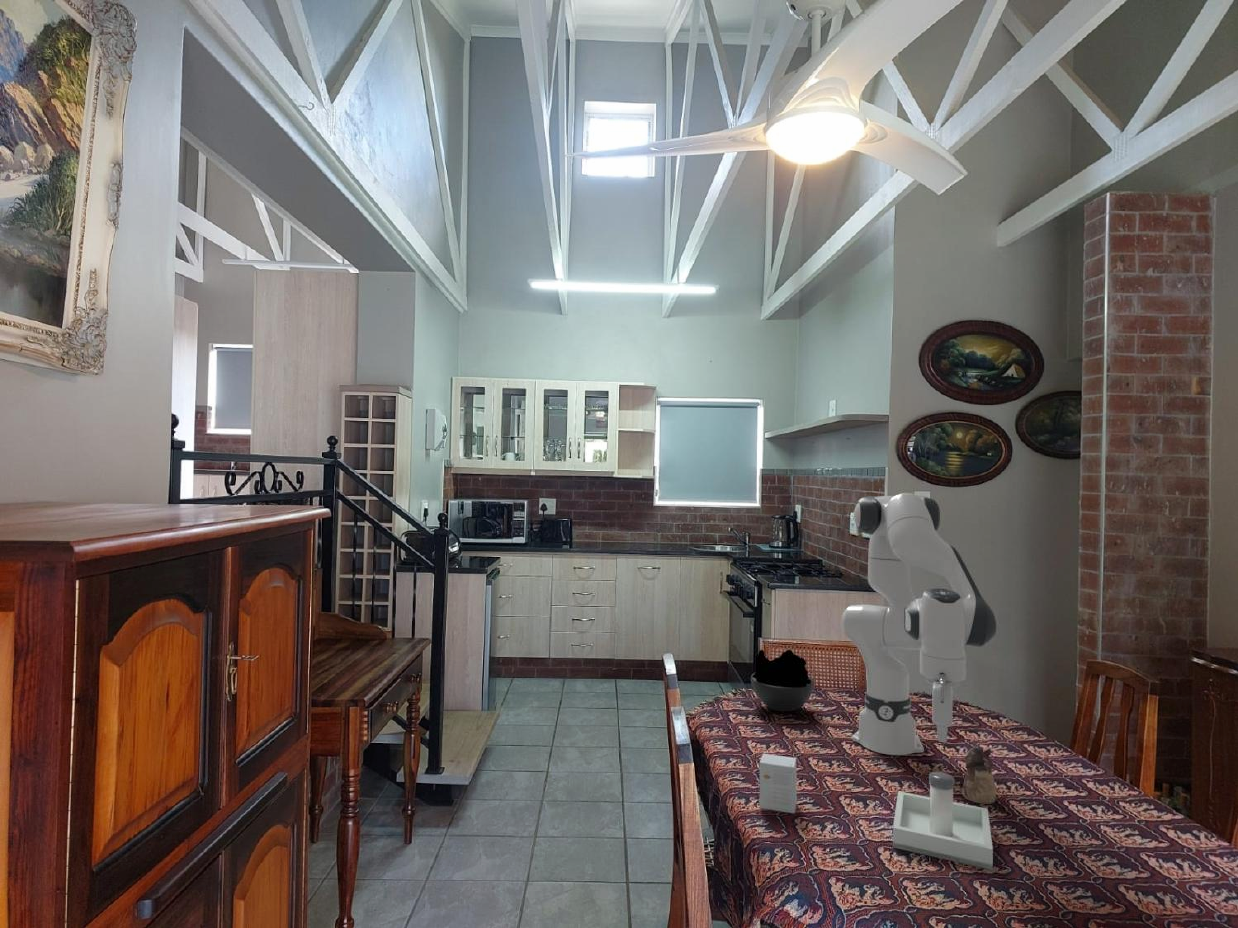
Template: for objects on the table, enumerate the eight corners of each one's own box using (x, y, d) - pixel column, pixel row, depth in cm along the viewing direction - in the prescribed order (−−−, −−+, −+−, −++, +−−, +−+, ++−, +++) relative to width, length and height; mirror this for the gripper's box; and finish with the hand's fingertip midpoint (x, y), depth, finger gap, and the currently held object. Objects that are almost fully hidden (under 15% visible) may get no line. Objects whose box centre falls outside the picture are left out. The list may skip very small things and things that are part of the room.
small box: (797, 803, 158) (797, 757, 158) (795, 814, 153) (795, 767, 153) (762, 797, 161) (762, 752, 161) (758, 808, 156) (759, 761, 156)
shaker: (929, 823, 147) (929, 769, 148) (953, 829, 145) (954, 774, 145) (928, 834, 143) (928, 778, 143) (954, 839, 141) (954, 783, 141)
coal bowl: (824, 709, 222) (825, 651, 222) (796, 725, 207) (796, 663, 207) (769, 695, 235) (770, 640, 236) (738, 710, 220) (739, 651, 221)
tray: (898, 808, 156) (898, 791, 156) (987, 826, 148) (987, 808, 148) (892, 847, 140) (892, 827, 140) (992, 869, 132) (992, 849, 132)
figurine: (968, 787, 167) (968, 738, 167) (1000, 797, 162) (1000, 746, 162) (957, 796, 162) (958, 746, 162) (990, 807, 157) (990, 755, 157)
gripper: (960, 683, 134) (959, 753, 134) (958, 657, 152) (957, 719, 152) (924, 678, 136) (924, 748, 136) (927, 654, 155) (926, 714, 155)
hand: (942, 732), depth 144 cm, fingers open, 8 cm apart
